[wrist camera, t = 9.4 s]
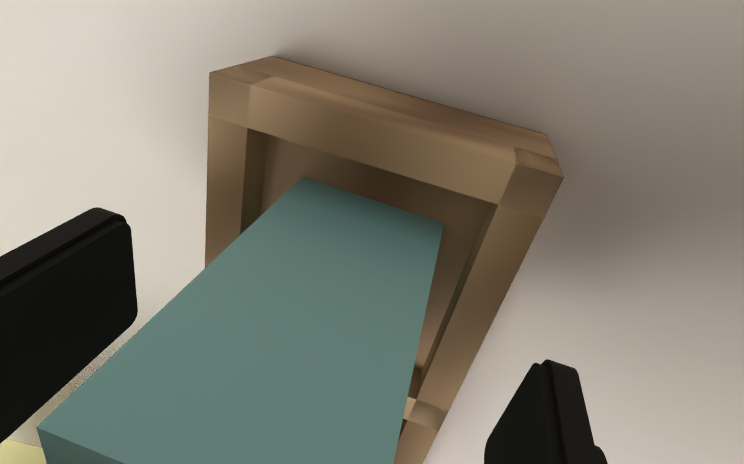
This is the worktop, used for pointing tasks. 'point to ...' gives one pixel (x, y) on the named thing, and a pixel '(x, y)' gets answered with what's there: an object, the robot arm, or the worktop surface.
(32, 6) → the worktop surface
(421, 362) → the divided wooden tray
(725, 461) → the worktop surface
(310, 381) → the teal rectangular block
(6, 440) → the slatted curved stool
